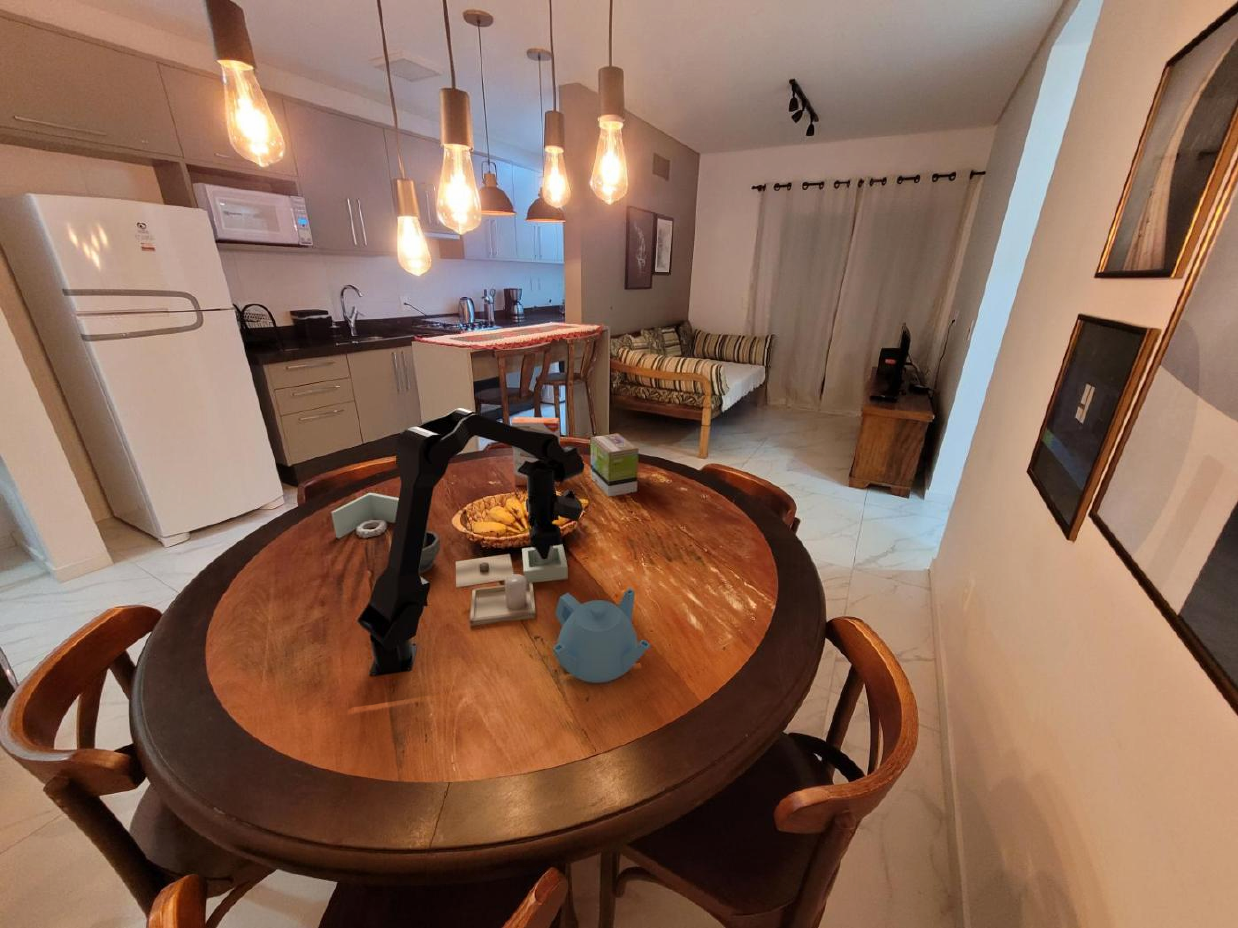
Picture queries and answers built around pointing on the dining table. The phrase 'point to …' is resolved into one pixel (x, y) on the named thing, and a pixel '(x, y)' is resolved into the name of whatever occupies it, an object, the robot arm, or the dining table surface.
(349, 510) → the right angle wall
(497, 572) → the tray lid
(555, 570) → the sage bin
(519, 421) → the cracker box
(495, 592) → the birch tray
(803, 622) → the dining table surface
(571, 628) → the teapot
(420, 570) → the mortar and pestle
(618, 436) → the tea box
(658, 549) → the dining table surface
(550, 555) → the grey rounded piece
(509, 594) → the pale pebble
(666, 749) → the dining table surface
